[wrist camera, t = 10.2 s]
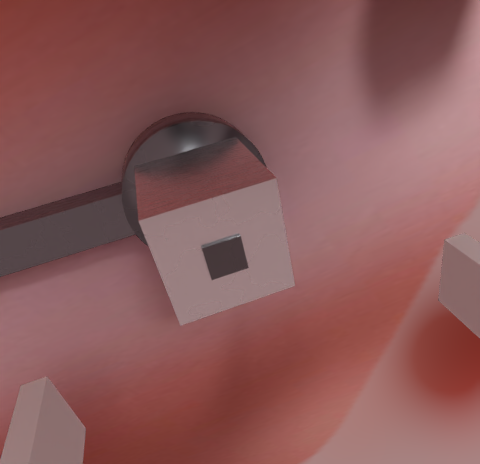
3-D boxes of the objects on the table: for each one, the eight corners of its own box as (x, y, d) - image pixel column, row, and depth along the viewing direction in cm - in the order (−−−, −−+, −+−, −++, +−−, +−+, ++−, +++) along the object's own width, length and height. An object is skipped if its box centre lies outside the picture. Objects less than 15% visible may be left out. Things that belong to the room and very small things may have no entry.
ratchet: (243, 95, 24) (283, 119, 18) (267, 219, 28) (305, 271, 22) (-185, 214, 21) (-308, 291, 15) (-80, 331, 25) (-142, 425, 20)
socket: (134, 166, 22) (138, 222, 16) (235, 136, 22) (277, 179, 16) (166, 252, 25) (180, 327, 19) (254, 224, 25) (296, 287, 19)
